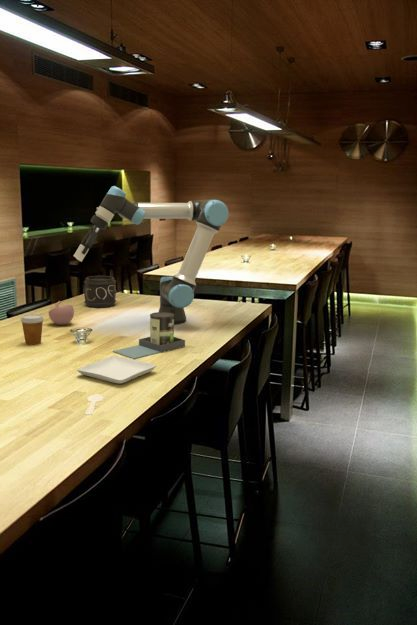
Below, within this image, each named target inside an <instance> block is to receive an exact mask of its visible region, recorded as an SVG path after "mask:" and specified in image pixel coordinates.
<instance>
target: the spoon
mask: <svg viewBox="0 0 417 625" xmlns="http://www.w3.org/2000/svg"><path fill="white" fill-rule="evenodd" d="M104 399H105V397H104V396H103V395H102V394H100V393H96V394H91V395H89V396H88V397H87V398H86V401H88V402H89V403H90V405H89V406H88V407H87V409H86V411H85V412H84V415H87V416H90V415H93V414H94V410H95V407H96V403H99V402H102V401H103V400H104Z"/></svg>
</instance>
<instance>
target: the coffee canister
mask: <svg viewBox="0 0 417 625" xmlns="http://www.w3.org/2000/svg"><path fill="white" fill-rule="evenodd" d="M83 283H84V288H83V293H84V295H83V296H84V304H85V305H86V306H85V307H88V308H94V309H105V308H106V309H108V308H112V307H114V306H115V303H116V302H117V300H116V297H117V293H118V290H117V289H116V288H117V286H116V283H117V280H116V279H115V277H113V276H109V275H95V276H93V275H92V276H87V277H85V280H84V281H83Z"/></svg>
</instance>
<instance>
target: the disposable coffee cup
mask: <svg viewBox="0 0 417 625" xmlns="http://www.w3.org/2000/svg"><path fill="white" fill-rule="evenodd" d="M44 319H45V318H44V316H43V315H42V314H37V313H33V314H31V313H29V314H24V315H22V316H21V318H20V321H21V325H22V331H23V336H24V340H25V345H26V346H38V345H40V344H41V343H42V336H43V335H42V332H43V322H44Z"/></svg>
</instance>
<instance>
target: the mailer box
mask: <svg viewBox="0 0 417 625" xmlns="http://www.w3.org/2000/svg"><path fill="white" fill-rule="evenodd" d="M183 346H185V347H186V340H185V339H183V338H179V337H175V336H174V342H172V343H168V344H164V345H158V344H155V343H151V342H150V336H147V337H143V338H139V339H138V344H137V345H133V346H129V347H124V348H118V349H116V350H112V353H113V354H114V353H115V354H117V355H121V356H122V357H125V358H129V359H133V360H137V359H139V358H144V357H148V356H152V355H157V354H160V352H161V353H165V352H168V350H169V351H172V349H173V350H176V348H178V349H180V348H179V347H182V348H184V347H183ZM164 351H165V352H164Z"/></svg>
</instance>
